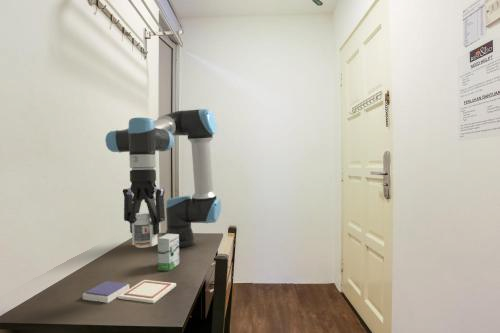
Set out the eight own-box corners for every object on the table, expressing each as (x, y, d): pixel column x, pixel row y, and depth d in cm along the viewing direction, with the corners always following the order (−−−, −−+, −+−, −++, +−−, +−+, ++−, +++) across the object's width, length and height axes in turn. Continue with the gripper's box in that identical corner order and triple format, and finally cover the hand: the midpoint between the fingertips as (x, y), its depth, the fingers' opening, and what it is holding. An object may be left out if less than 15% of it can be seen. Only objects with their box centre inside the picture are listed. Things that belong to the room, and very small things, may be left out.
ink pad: (106, 286, 94) (105, 280, 94) (129, 289, 91) (129, 283, 91) (82, 299, 85) (82, 292, 85) (107, 302, 82) (107, 295, 82)
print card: (144, 282, 97) (144, 279, 97) (176, 285, 93) (176, 282, 93) (118, 298, 85) (118, 295, 85) (153, 303, 82) (153, 299, 82)
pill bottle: (157, 245, 88) (156, 213, 88) (137, 249, 85) (136, 215, 85) (151, 241, 93) (150, 211, 93) (132, 245, 89) (131, 213, 89)
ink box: (169, 271, 106) (168, 238, 106) (157, 270, 107) (156, 238, 107) (180, 263, 115) (179, 233, 115) (168, 262, 116) (167, 232, 116)
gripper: (108, 169, 88) (111, 245, 88) (162, 168, 82) (164, 249, 83) (126, 169, 95) (128, 239, 95) (176, 168, 89) (178, 242, 90)
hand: (145, 244), depth 89 cm, fingers closed on pill bottle, 6 cm apart
